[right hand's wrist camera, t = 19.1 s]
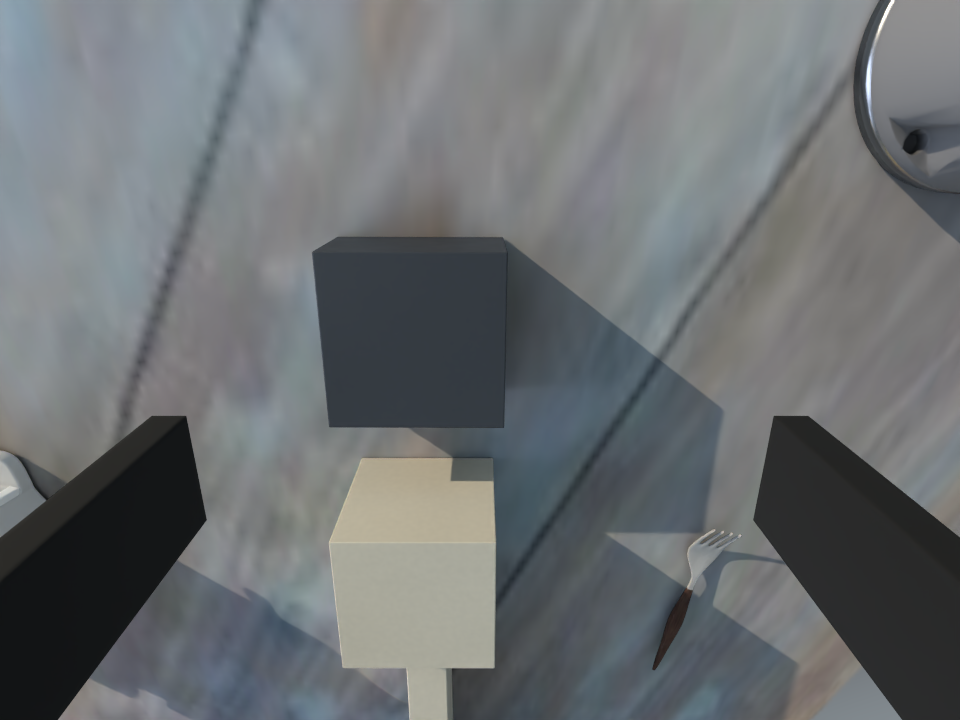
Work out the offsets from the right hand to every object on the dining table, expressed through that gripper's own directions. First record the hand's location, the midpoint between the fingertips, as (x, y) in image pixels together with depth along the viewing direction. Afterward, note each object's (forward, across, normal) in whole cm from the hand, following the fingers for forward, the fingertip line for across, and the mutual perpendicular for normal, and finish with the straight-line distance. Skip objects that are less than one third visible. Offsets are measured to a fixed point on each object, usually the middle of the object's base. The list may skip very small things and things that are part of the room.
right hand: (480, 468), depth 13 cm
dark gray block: (+27, +4, +4) cm, 27 cm away
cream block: (+27, +4, +32) cm, 42 cm away
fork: (+27, -17, +28) cm, 42 cm away
